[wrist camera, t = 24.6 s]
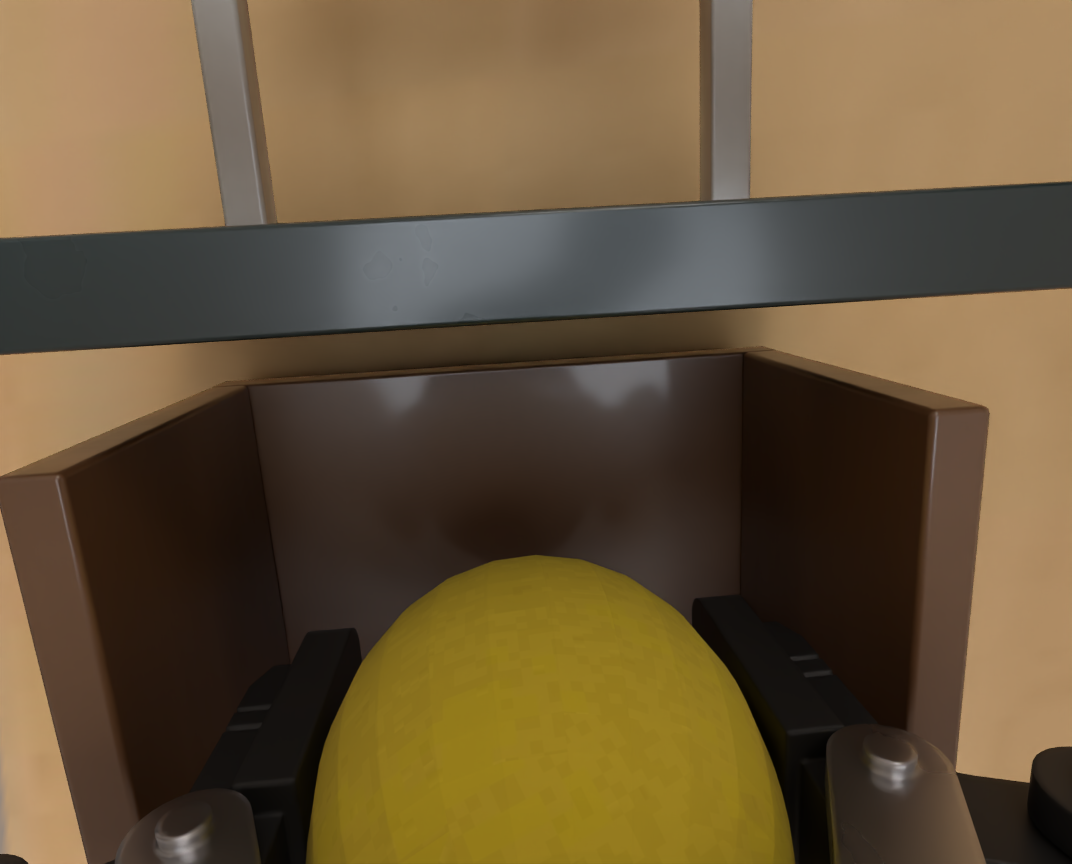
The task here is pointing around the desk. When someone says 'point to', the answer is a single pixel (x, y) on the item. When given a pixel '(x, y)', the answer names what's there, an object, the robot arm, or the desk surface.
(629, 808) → the lemon
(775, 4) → the desk surface
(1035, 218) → the drawer
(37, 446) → the desk surface
